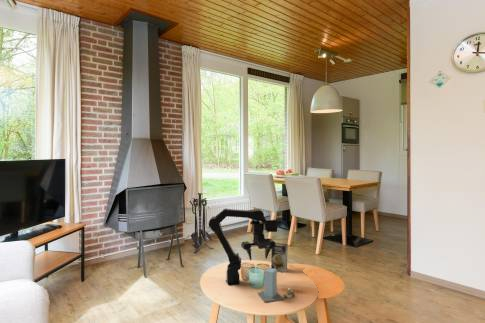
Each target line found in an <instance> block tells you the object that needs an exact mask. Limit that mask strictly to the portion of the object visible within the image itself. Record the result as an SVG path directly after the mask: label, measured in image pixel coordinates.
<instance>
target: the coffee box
mask: <svg viewBox="0 0 485 323" xmlns="http://www.w3.org/2000/svg"><path fill="white" fill-rule="evenodd" d="M275 243H276V246H275V247H273V248H272V249H271V255H270V256H271V258H270V260H271V263H270V264H271V265H270V266H271V267H270V268H272V269H276V270H277V272H280V273H286V272H287V270H288V243H281V242H275Z"/></svg>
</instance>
